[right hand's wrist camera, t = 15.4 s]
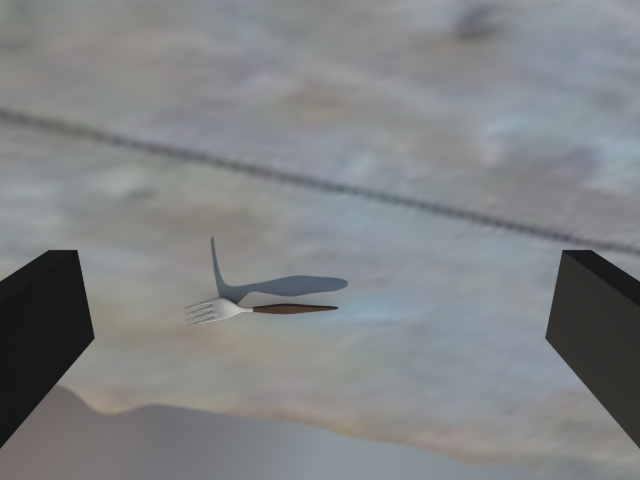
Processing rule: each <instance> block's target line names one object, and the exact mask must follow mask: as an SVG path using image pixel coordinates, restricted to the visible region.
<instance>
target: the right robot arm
mask: <svg viewBox="0 0 640 480" xmlns="http://www.w3.org/2000/svg"><path fill="white" fill-rule="evenodd" d="M94 338H95V337H94V332H93V327H92V322H91V317H90V312H89V307H88V302H87V297H86V291H85V286H84V281H83V276H82V271H81V266H80V261H79V256H78V251H77V250H48V251H47V252H45V253H44V254H42V255H41V256H39V257H37V258H36V259H34V260H33V261H31V262H30V263H28V264H27V265H25V266H24V267H22V268H20V269H19V270H17V271H16V272H14V273H13V274H11V275H10V276H8V277H7V278H5V279H3V280H2V281H0V448H1V447H2V446H3V445H4V444H5V443H6V441H7V440H8V439H9V438H10V437H11V435H12V434H13V433H14V432H15V431H16V430H17V428H18V427H19V426H20V425H21V424H22V423H23V422H24V420H25V419H26V418H27V417H28V416H29V415H30V413H31V412H32V411H33V410H34V409H35V407H36V406H37V405H38V404H39V403H40V402H41V400H42V399H43V398H44V397H45V396H46V395H47V393H48V392H49V391H50V390H51V389H52V388H53V386H54V385H55V384H56V383H57V382H58V381H59V379H60V378H61V377H62V376H63V375H64V374H65V372H66V371H67V370H68V369H69V368H70V367H71V365H72V364H73V363H74V362H75V361H76V360H77V358H78V357H79V356H80V355H81V354H82V353H83V351H84V350H85V349H86V348H87V347H88V346H89V344H90V343H91V342H92V341H93V340H94ZM545 338H546V340H547V341H548V342H549V343H550V344H551V346H552V347H553V348H554V349H555V350H556V351H557V353H558V354H559V355H560V356H561V357H562V358H563V360H564V361H565V362H566V363H567V364H568V365H569V367H570V368H571V369H572V370H573V371H574V372H575V374H576V375H577V376H578V377H579V378H580V379H581V381H582V382H583V383H584V384H585V385H586V386H587V388H588V389H589V390H590V391H591V392H592V393H593V395H594V396H595V397H596V398H597V399H598V400H599V402H600V403H601V404H602V405H603V406H604V407H605V409H606V410H607V411H608V412H609V413H610V415H611V416H612V417H613V418H614V419H615V420H616V422H617V423H618V424H619V425H620V426H621V427H622V429H623V430H624V431H625V432H626V433H627V434H628V436H629V437H630V438H631V439H632V440H633V441H634V443H635V444H636V445H637V446H638V447H639V448H640V281H638V280H637V279H635V278H633V277H632V276H630V275H629V274H627V273H626V272H624V271H623V270H621V269H620V268H618V267H616V266H615V265H613V264H612V263H610V262H609V261H607V260H606V259H604V258H603V257H601V256H599V255H598V254H596V253H595V252H593V251H592V250H563V251H562V256H561V261H560V266H559V271H558V276H557V281H556V286H555V291H554V297H553V302H552V307H551V312H550V317H549V322H548V327H547V332H546V337H545Z"/></svg>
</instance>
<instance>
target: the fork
mask: <svg viewBox="0 0 640 480" xmlns="http://www.w3.org/2000/svg"><path fill="white" fill-rule="evenodd" d="M204 304H211V305H210V306H208V307H205V308H201V309H198V310H195V311H192V312H189V313H187V314H191V313H195V312H200V311H204V310H212V311H211V312H208V313H205V314H202V315H199V316H196V317H193V318H190V319H187V320H186V321H188V320H192V319H196V318H200V317H204V316H209V315H212V317H211V318H208V319H205V320H202V321H199V322H196V323H193V324H190V325H188V326H187V327H189V326H192V325H196V324H200V323H204V322H209V321H214V320H221V319H225V318H228V317H231V316H233V315H235V314H237V313H240V312H260V313H270V314H296V313H305V312H315V311H326V310H335V309H338V307H332V306H315V305H301V304H275V305H266V306H258V307H249V308H244V307H240V306H238V305H237V304H235V303H233V302H232V301H230V300H228V299H225V298H215V299H211V300H208V301H204V302H201V303H198V304H195V305H192V306H189V307H185V308H184V309H187V308H190V307H195V306H199V305H204ZM187 314H185V315H187Z"/></svg>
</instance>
